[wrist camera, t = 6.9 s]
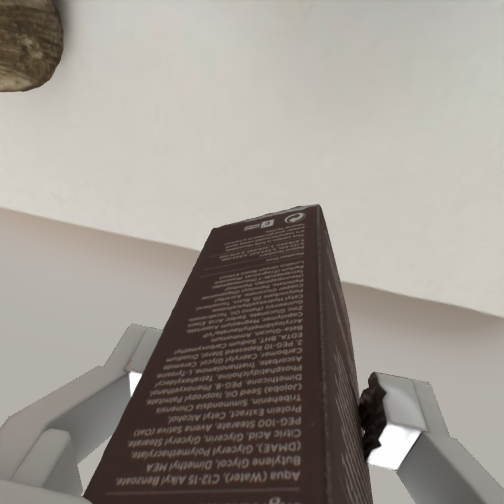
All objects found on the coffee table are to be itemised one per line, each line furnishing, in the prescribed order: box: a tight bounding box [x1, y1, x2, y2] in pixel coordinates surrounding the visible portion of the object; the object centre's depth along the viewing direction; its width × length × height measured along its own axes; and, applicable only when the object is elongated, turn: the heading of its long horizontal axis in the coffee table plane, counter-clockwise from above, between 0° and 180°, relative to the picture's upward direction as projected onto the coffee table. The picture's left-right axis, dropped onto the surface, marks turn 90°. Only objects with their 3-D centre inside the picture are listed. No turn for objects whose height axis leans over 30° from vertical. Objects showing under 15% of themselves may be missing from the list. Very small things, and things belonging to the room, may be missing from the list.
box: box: [83, 204, 373, 504], centre depth 9 cm, size 6×4×12 cm
